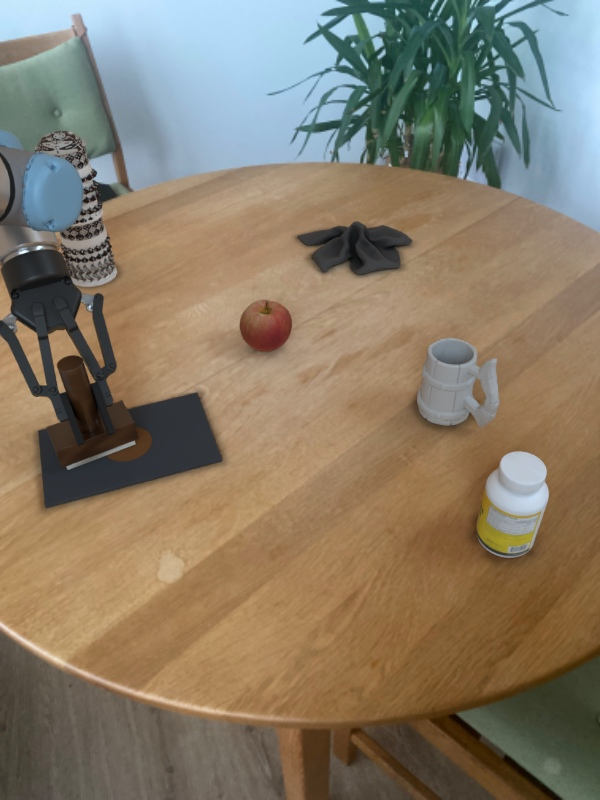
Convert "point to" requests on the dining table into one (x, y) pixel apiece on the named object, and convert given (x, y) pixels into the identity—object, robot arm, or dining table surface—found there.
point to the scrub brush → (88, 420)
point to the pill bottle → (513, 505)
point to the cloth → (357, 247)
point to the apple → (265, 325)
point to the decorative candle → (83, 216)
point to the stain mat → (136, 452)
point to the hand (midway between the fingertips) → (96, 438)
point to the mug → (456, 384)
